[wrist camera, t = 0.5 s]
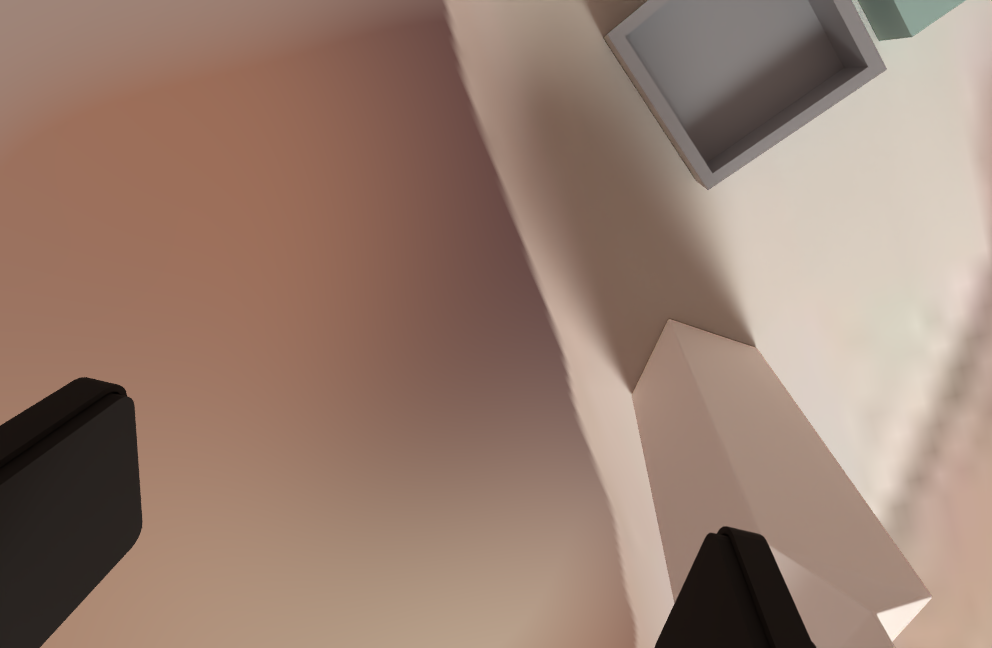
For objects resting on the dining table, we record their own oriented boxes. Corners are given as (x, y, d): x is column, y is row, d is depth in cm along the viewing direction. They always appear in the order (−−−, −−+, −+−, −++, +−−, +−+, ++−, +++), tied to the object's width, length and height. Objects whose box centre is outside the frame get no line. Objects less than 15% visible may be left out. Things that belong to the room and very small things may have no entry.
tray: (767, -98, 27) (790, -118, 24) (857, 70, 29) (887, 69, 27) (603, 38, 30) (607, 34, 27) (696, 180, 32) (708, 190, 30)
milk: (757, 346, 36) (1011, 691, 16) (714, 423, 38) (885, 807, 18) (665, 316, 36) (802, 625, 16) (628, 395, 38) (704, 751, 18)
